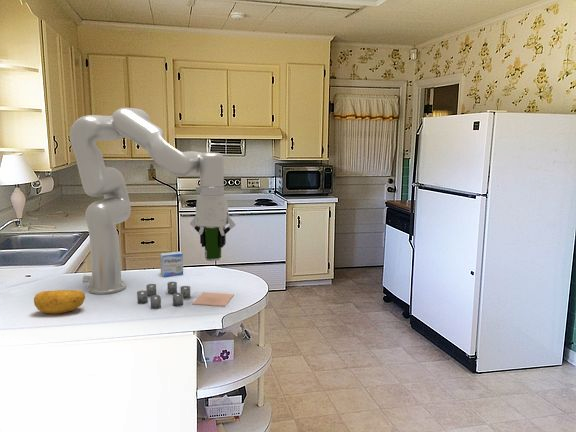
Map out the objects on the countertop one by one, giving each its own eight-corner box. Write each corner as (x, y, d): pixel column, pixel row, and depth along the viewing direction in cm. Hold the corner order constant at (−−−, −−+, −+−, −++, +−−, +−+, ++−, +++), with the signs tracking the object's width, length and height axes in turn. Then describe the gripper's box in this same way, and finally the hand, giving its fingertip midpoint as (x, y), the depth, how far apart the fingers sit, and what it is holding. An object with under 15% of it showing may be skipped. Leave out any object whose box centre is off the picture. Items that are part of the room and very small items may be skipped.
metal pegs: (130, 307, 154) (130, 297, 153) (153, 289, 171) (152, 280, 170) (177, 310, 152) (176, 300, 151) (195, 292, 168) (194, 282, 168)
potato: (82, 315, 147) (81, 293, 146) (31, 318, 145) (29, 295, 143) (87, 306, 154) (86, 285, 153) (39, 309, 152) (37, 287, 150)
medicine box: (163, 277, 185) (162, 255, 183) (160, 274, 189) (159, 252, 187) (183, 275, 188) (183, 253, 187) (180, 271, 192) (179, 250, 191)
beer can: (209, 262, 156) (208, 225, 153) (202, 258, 160) (201, 222, 158) (224, 259, 159) (223, 223, 156) (217, 256, 163) (216, 221, 161)
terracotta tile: (192, 304, 157) (192, 303, 157) (202, 293, 168) (202, 292, 168) (225, 306, 156) (225, 305, 156) (233, 295, 166) (233, 294, 166)
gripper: (182, 192, 153) (183, 248, 156) (235, 193, 150) (235, 250, 154) (190, 189, 160) (191, 242, 163) (240, 190, 158) (241, 244, 161)
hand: (213, 245), depth 159 cm, fingers closed on beer can, 5 cm apart
